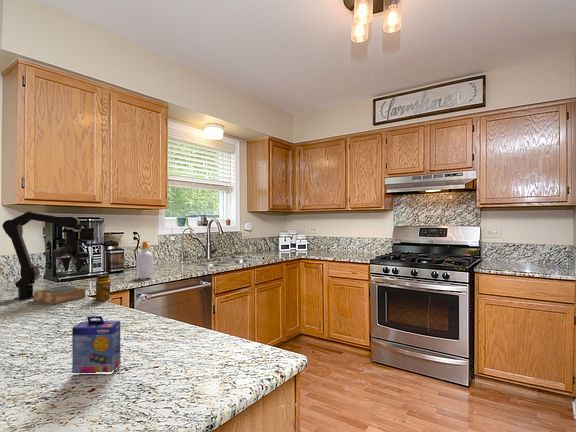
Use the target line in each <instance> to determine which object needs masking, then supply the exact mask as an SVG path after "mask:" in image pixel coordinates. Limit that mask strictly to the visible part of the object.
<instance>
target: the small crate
mask: <svg viewBox="0 0 576 432" xmlns="http://www.w3.org/2000/svg"><path fill="white" fill-rule="evenodd" d="M75 287H76V285H69V284H64V285H58V286H53V287H47V288H45V289H44V290H45V293H52V294H57V293H62V292H68V291H73V290H75Z"/></svg>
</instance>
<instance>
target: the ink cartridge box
mask: <svg viewBox="0 0 576 432" xmlns="http://www.w3.org/2000/svg"><path fill="white" fill-rule="evenodd" d="M86 318H87V320H85V321H80V322H79V323H77V324H76V325H74V326H72V329H71V330H72V332H71V333H72V335H71V336H72V341H71V343H72V344H71V345H72V351H71V352H72V353H71V354H72V355H71V356H72V357H71V360H72V361H71V364H72V369H71V370H72V373H96V372H112V371H113V370H115V369H116V368H117V367H118V366H119V365H120V364H121V361H122V360H121V359H122V358H121V321H120V320H104V319H103V316H102V315H91V316H86ZM93 319H94V320H93ZM95 319H96V320H95ZM72 373H71V374H72Z"/></svg>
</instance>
